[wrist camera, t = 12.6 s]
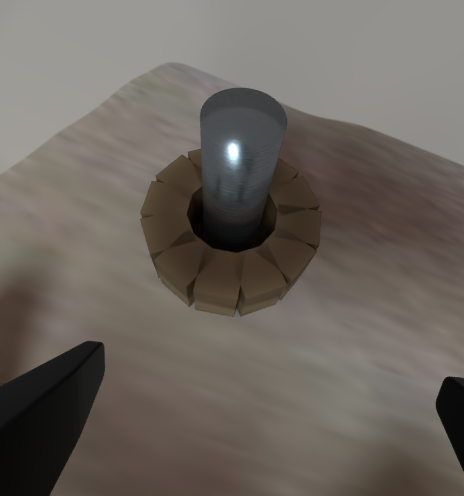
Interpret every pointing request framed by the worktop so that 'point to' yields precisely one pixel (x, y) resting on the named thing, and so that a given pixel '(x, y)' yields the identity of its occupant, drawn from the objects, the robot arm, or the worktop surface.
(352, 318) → the worktop surface
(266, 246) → the segmented wooden ring
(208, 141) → the tall steel post
